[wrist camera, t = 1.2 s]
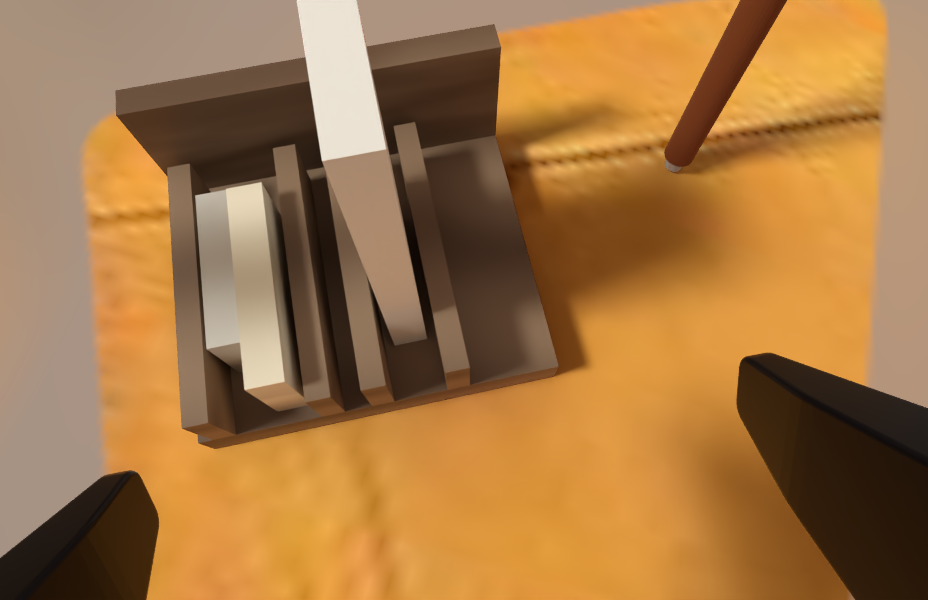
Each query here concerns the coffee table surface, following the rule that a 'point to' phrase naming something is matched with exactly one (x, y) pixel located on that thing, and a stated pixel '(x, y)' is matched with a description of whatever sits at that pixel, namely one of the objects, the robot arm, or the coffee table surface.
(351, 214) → the white flat board
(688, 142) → the magnifying glass
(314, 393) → the offcut rack
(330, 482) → the coffee table surface
